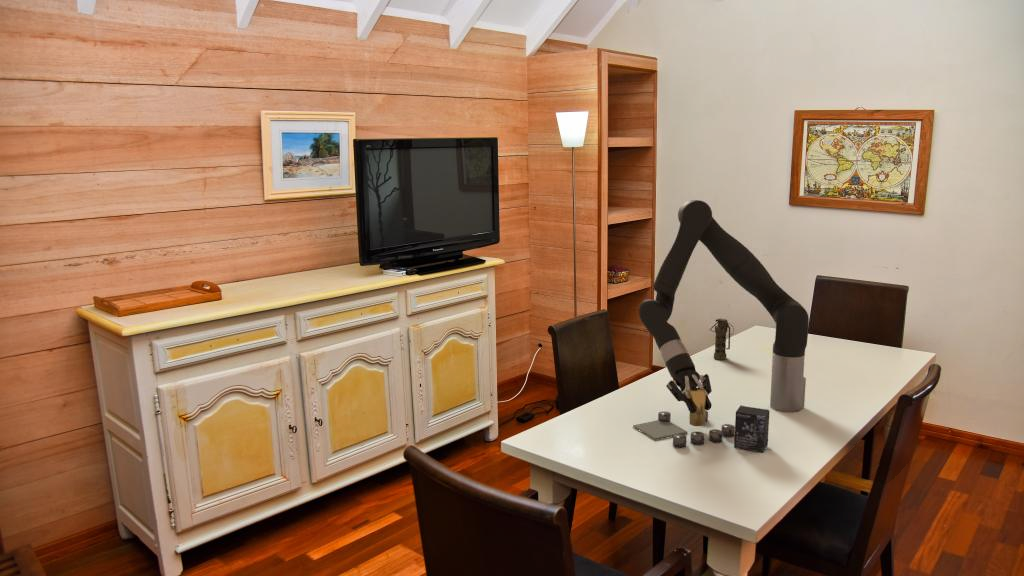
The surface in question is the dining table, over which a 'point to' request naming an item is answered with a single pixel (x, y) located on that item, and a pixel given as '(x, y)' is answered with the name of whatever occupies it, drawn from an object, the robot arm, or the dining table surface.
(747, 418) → the box
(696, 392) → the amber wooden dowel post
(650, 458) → the dining table surface
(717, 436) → the spacers
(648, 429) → the pad
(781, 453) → the dining table surface
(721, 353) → the grenade
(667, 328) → the robot arm
